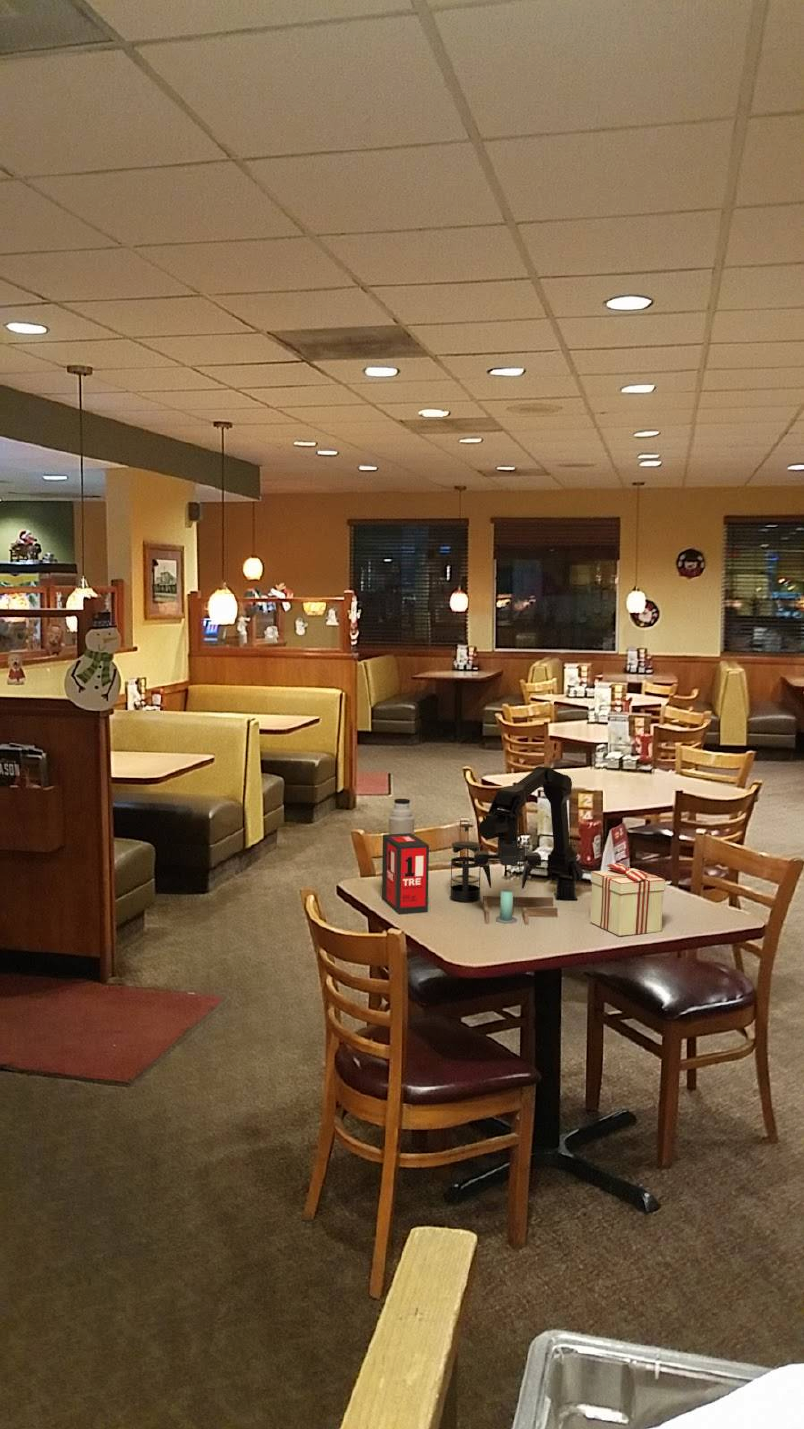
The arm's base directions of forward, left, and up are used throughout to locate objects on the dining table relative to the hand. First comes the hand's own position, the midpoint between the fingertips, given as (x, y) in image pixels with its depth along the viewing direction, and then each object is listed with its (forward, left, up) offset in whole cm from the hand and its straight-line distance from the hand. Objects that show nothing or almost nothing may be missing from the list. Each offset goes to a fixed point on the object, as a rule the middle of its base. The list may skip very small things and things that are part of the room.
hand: (506, 888), depth 313 cm
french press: (-22, -11, -10) cm, 26 cm away
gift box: (+3, +34, -10) cm, 36 cm away
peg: (0, 0, -9) cm, 9 cm away
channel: (-6, +5, -9) cm, 12 cm away
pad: (0, 0, -9) cm, 9 cm away
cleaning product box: (-13, -29, -10) cm, 33 cm away
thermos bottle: (-34, -31, -10) cm, 47 cm away
